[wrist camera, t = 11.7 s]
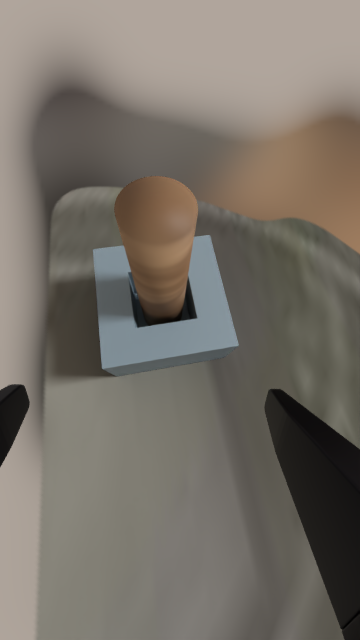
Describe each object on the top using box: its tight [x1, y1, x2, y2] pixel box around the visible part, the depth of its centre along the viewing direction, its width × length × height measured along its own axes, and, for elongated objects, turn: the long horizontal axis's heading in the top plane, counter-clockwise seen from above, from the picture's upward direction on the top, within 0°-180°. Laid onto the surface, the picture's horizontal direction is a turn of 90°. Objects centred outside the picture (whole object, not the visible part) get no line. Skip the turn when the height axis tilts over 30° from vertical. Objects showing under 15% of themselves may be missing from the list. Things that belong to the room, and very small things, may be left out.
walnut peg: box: [114, 176, 198, 326], centre depth 17 cm, size 4×4×13 cm
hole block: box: [93, 235, 239, 376], centre depth 21 cm, size 10×10×5 cm
